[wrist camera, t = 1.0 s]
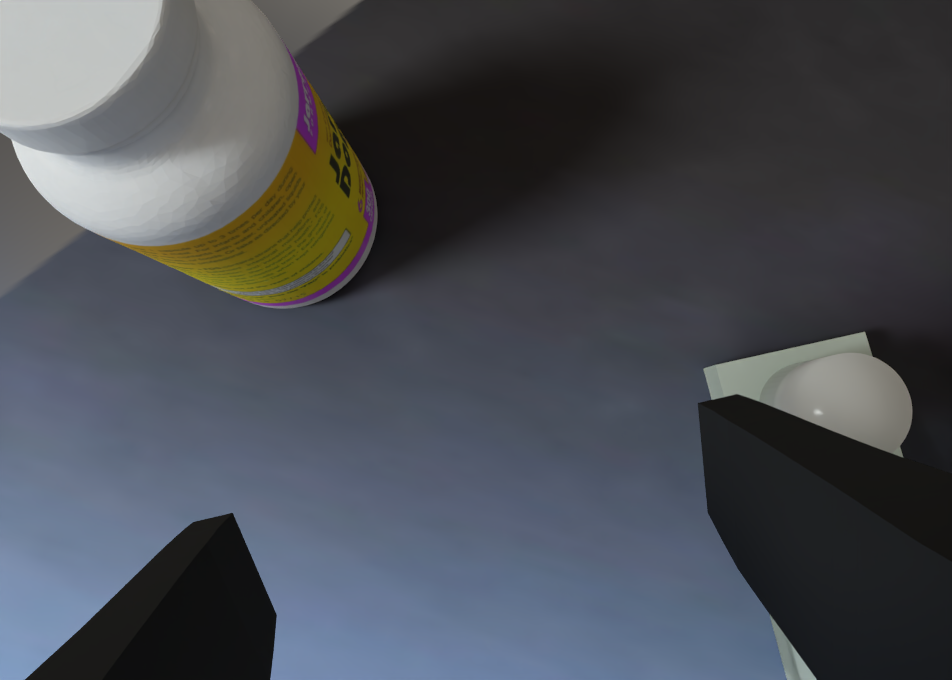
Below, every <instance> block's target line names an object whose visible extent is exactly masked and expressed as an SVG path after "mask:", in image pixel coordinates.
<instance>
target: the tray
mask: <svg viewBox="0 0 952 680" xmlns="http://www.w3.org/2000/svg"><path fill="white" fill-rule="evenodd" d="M704 373H705V376H706V380H707V384H708V387H709V391H710V395H711V399H712V400H714V399H718V398H722V397H727V396H731V395H735V394H739V395H742V396H745V397H748V398H751V399H754V400H756V401H759V402H762V403H764V404H767V405H769V406H772V407H774V408H777V409H779V410H782V411H784V412H787V413H789V414H792V415H794V416H797V417H799V418H802V419H804V420H807V421H809V422H812V423H814V424H817V425H819V426H822V427H824V428H827V429H829V430H832V431H834V432H837V433H839V434H842V435H844V436H847V437H849V438H852V439H854V440H857V441H860V442H862V443H865V444H868V445H870V446H873V447H876V448H878V449H881V450H884V451H887V452H889V453H892V454H895V455H898V456H900V457H903V455H902V451H901V448H900V445H901V444H902V442H903V441H904V440H905V438H906V436H907V434H908V432H909V429H910V426H911V422H912V402H911V398H910V394H909V392H908V389H907V387H906V385H905V383H904V382H903V380H902V379H901V377H900V376H899V375H898V374H897V373H896V372H895V371H894V370H893V369H892V368H891V367H890V366H889V365H887V364H886V363H884V362H883V361H881V360H879V359H877V358H875V357H873V356H872V353H871V350H870V347H869V343H868V340H867V337H866V333H865V332H862V333H857V334H853V335H848V336H844V337H839V338H835V339H830V340H826V341H821V342H817V343H812V344H808V345H803V346H799V347H794V348H790V349H785V350H781V351H776V352H772V353H767V354H763V355H758V356H754V357H749V358H745V359H740V360H736V361H731V362H727V363H722V364H718V365H714V366H710V367H707V368H704ZM770 618H771V622H772V625H773V629H774V633H775V637H776V640H777V644H778V648H779V651H780V655H781V659H782V663H783V666H784V670H785V674H786V677H787V680H817V679H816V678H815V676H814V675H813V674H812V672H811V671H810V669H809V668H808V667H807V665H806V664H805V663H804V661H803V660H802V658H801V657H800V656H799V654H798V653H797V651H796V650H795V649H794V647H793V646H792V644H791V643H790V642H789V640H788V639H787V637H786V636H785V635H784V633H783V632H782V630H781V629H780V628H779V626H778V625H777V624H776V622H775V621H774V619H773V618H772V617H771V615H770Z"/></svg>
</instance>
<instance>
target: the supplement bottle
mask: <svg viewBox="0 0 952 680" xmlns="http://www.w3.org/2000/svg"><path fill="white" fill-rule="evenodd" d="M0 132H1V133H2V134H4V135H5V136H7V137H9V138H10V139H11V140H12V143H13V146H14V149H15V152H16V154H17V157H18V159H19V161H20V163H21V165H22V167H23V169H24V171H25V173H26V174H27V176H28V178H29V179H30V181H31V182H32V184H33V185H34V186H35V188H36V189H37V190H38V191H39V192H40V194H41V195H42V196H43V197H44V198H45V199H46V200H47V201H48V202H49V203H50V204H51V205H52V206H53V207H54V208H55V209H57V210H58V211H59V212H60V213H62V214H63V215H64V216H66V217H67V218H69V219H70V220H72V221H73V222H75V223H76V224H78V225H80V226H82V227H84V228H86V229H88V230H90V231H92V232H94V233H96V234H98V235H100V236H103V237H105V238H107V239H109V240H112V241H114V242H116V243H118V244H121V245H123V246H125V247H128V248H130V249H132V250H135V251H137V252H139V253H141V254H144V255H146V256H148V257H150V258H152V259H155V260H157V261H159V262H161V263H163V264H166V265H168V266H170V267H172V268H175V269H177V270H179V271H181V272H183V273H185V274H188V275H190V276H192V277H194V278H196V279H198V280H201V281H203V282H205V283H207V284H210V285H212V286H214V287H216V288H218V289H220V290H222V291H225V292H227V293H229V294H231V295H233V296H236V297H238V298H240V299H243V300H245V301H248V302H251V303H254V304H257V305H260V306H264V307H270V308H296V307H302V306H307V305H310V304H313V303H316V302H319V301H321V300H323V299H325V298H327V297H329V296H331V295H332V294H334V293H335V292H337V291H338V290H340V289H341V288H342V287H343V286H344V285H346V284H347V283H348V282H349V281H350V280H351V279H352V278H353V277H354V276H355V274H356V273H357V272H358V271H359V269H360V268H361V267H362V265H363V263H364V262H365V260H366V258H367V256H368V254H369V252H370V250H371V247H372V244H373V242H374V238H375V233H376V228H377V215H378V212H377V202H376V197H375V193H374V189H373V186H372V184H371V181H370V179H369V177H368V175H367V173H366V171H365V170H364V168H363V166H362V164H361V163H360V161H359V159H358V158H357V156H356V154H355V153H354V151H353V150H352V148H351V147H350V145H349V143H348V142H347V140H346V139H345V137H344V136H343V134H342V132H341V131H340V129H339V128H338V126H337V125H336V123H335V121H334V120H333V118H332V116H331V115H330V114H329V112H328V111H327V109H326V108H325V106H324V104H323V103H322V101H321V100H320V98H319V96H318V95H317V94H316V92H315V91H314V89H313V87H312V86H311V84H310V83H309V82H308V80H307V79H306V77H305V75H304V74H303V72H302V71H301V69H300V68H299V66H298V65H297V63H296V61H295V60H294V58H293V57H292V55H291V54H290V52H289V50H288V49H287V47H286V45H285V44H284V42H283V40H282V39H281V37H280V36H279V34H278V33H277V32H276V31H275V29H274V27H273V26H272V24H271V23H270V21H269V20H268V19H267V17H266V16H265V15H264V14H263V13H262V12H261V10H259V8H258V7H257V6H256V5H255V4H254V3H253V2H252V1H251V0H0Z"/></svg>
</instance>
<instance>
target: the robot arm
mask: <svg viewBox="0 0 952 680" xmlns="http://www.w3.org/2000/svg"><path fill="white" fill-rule="evenodd" d="M698 410H699V421H700V432H701V443H702V454H703V465H704V476H705V487H706V498H707V509H708V514H709V516H710V518H711V520H712V521H713V523H714V525H715V527H716V529H717V531H718V533H719V535H720V537H721V539H722V541H723V543H724V544H725V546H726V548H727V550H728V552H729V553H730V555H731V557H732V559H733V561H734V562H735V564H736V566H737V568H738V570H739V571H740V572H741V574H742V575H743V577H744V578H745V580H746V581H747V583H748V584H749V585H750V587H751V588H752V590H753V591H754V593H755V594H756V595H757V597H758V598H759V600H760V601H761V602H762V604H763V605H764V607H765V608H766V610H767V611H768V612H769V614H770V615H771V617H772V618H773V619H774V621H775V622H776V624H777V625H778V626H779V628H780V629H781V630H782V632H783V633H784V635H785V636H786V637H787V639H788V640H789V642H790V643H791V644H792V646H793V647H794V649H795V650H796V651H797V653H798V654H799V656H800V657H801V658H802V660H803V661H804V663H805V664H806V665H807V667H808V668H809V669H810V671H811V672H812V674H813V675H814V676H815V678H816V679H817V680H952V474H951V473H948V472H945V471H942V470H939V469H936V468H933V467H930V466H927V465H924V464H921V463H918V462H915V461H912V460H909V459H906V458H903V457H900V456H898V455H895V454H892V453H889V452H887V451H884V450H881V449H878V448H876V447H873V446H870V445H868V444H865V443H862V442H860V441H857V440H854V439H852V438H849V437H847V436H844V435H842V434H839V433H837V432H834V431H832V430H829V429H827V428H824V427H822V426H819V425H817V424H814V423H812V422H809V421H807V420H804V419H802V418H799V417H797V416H794V415H792V414H789V413H787V412H784V411H782V410H779V409H777V408H774V407H772V406H769V405H767V404H764V403H762V402H759V401H756V400H754V399H751V398H748V397H745V396H742V395H739V394H735V395H731V396H727V397H722V398H718V399H714V400H710V401H705V402H701V403H698ZM276 616H277V615H276V612H275V610H274V608H273V605H272V603H271V601H270V599H269V596H268V594H267V592H266V589H265V587H264V585H263V582H262V580H261V578H260V575H259V573H258V571H257V568H256V566H255V564H254V561H253V559H252V557H251V554H250V552H249V550H248V547H247V545H246V543H245V540H244V538H243V536H242V534H241V531H240V529H239V527H238V524H237V522H236V520H235V517H234V515H233V513H230V514H226V515H222V516H218V517H213V518H209V519H205V520H201V521H196V522H193V523H192V524H190V525H189V526H188V527H187V528H185V529H184V530H183V531H182V532H181V533H180V534H178V535H177V536H176V537H175V538H174V539H173V540H172V541H171V542H170V543H169V544H167V545H166V546H165V547H164V548H163V549H162V550H161V551H160V552H159V553H158V554H157V555H156V556H155V557H154V558H153V559H152V560H151V561H150V562H149V563H148V564H147V565H146V566H145V567H144V568H143V569H142V570H141V571H140V572H139V573H137V574H136V575H135V576H134V577H133V578H132V579H131V580H130V581H129V582H128V583H127V584H126V585H125V586H124V587H123V588H122V589H121V590H120V591H119V592H118V593H117V594H116V595H115V596H114V597H113V598H112V599H111V600H110V601H109V602H108V603H107V604H106V605H105V606H104V607H103V608H102V609H101V610H100V611H99V612H97V613H96V614H95V615H94V616H93V617H92V618H91V619H90V620H89V621H88V622H87V623H86V624H85V625H84V626H83V627H82V628H81V629H80V630H79V631H78V632H77V633H75V634H74V635H73V636H72V637H71V638H70V639H69V640H68V641H67V642H66V643H65V644H63V645H62V646H61V647H60V648H59V649H58V650H57V651H56V652H55V653H54V654H53V655H51V656H50V657H49V658H48V659H47V660H46V661H45V662H44V663H43V664H42V665H41V666H39V667H38V668H37V669H36V670H35V671H34V672H33V673H32V674H31V675H30V676H29V677H27V678H26V679H25V680H270V676H271V668H272V659H273V651H274V639H275V628H276Z"/></svg>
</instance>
